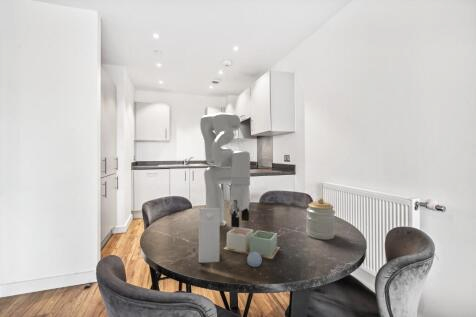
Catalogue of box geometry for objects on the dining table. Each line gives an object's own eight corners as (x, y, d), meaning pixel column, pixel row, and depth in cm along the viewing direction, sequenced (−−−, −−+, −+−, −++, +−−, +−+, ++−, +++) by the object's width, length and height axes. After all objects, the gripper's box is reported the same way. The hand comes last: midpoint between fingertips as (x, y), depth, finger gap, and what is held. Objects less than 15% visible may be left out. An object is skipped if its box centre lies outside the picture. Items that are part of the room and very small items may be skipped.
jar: (301, 235, 108) (301, 198, 107) (313, 228, 117) (313, 194, 117) (328, 242, 99) (329, 202, 99) (339, 235, 108) (339, 198, 108)
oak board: (223, 251, 89) (223, 248, 89) (235, 242, 99) (235, 239, 99) (272, 262, 81) (272, 258, 80) (280, 250, 90) (280, 247, 90)
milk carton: (200, 256, 85) (200, 206, 84) (219, 256, 85) (219, 205, 85) (198, 266, 78) (198, 210, 77) (219, 265, 78) (219, 210, 78)
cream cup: (226, 247, 90) (226, 232, 90) (235, 240, 97) (235, 226, 97) (245, 251, 86) (245, 236, 86) (253, 243, 94) (253, 229, 94)
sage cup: (250, 252, 86) (250, 236, 86) (257, 244, 93) (257, 230, 93) (270, 256, 82) (271, 240, 82) (276, 248, 90) (277, 233, 89)
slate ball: (244, 268, 76) (244, 254, 76) (250, 262, 80) (250, 248, 80) (258, 272, 74) (258, 256, 74) (263, 265, 78) (263, 251, 78)
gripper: (241, 179, 101) (240, 217, 101) (222, 183, 85) (222, 228, 85) (256, 179, 98) (256, 219, 98) (240, 184, 82) (240, 231, 82)
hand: (240, 223), depth 92 cm, fingers open, 9 cm apart
